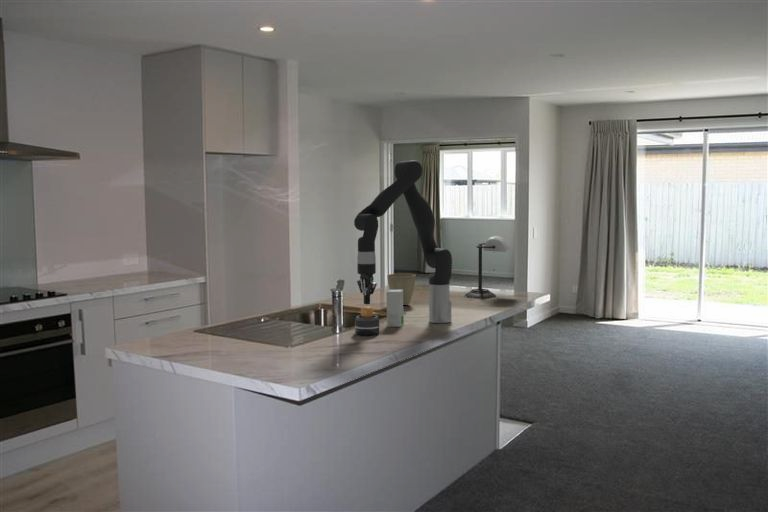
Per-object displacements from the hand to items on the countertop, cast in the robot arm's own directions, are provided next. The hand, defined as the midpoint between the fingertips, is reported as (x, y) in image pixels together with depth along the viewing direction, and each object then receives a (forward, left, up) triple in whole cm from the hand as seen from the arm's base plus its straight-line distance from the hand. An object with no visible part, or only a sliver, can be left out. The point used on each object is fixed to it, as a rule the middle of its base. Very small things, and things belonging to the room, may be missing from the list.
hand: (366, 304), depth 272 cm
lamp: (-106, -53, -13) cm, 119 cm away
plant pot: (-50, -53, -13) cm, 74 cm away
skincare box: (-19, -9, -13) cm, 25 cm away
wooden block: (0, 0, -6) cm, 6 cm away
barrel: (0, 0, -12) cm, 12 cm away
